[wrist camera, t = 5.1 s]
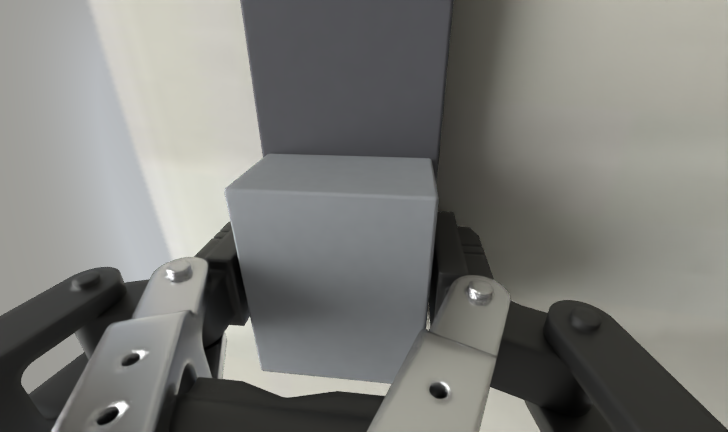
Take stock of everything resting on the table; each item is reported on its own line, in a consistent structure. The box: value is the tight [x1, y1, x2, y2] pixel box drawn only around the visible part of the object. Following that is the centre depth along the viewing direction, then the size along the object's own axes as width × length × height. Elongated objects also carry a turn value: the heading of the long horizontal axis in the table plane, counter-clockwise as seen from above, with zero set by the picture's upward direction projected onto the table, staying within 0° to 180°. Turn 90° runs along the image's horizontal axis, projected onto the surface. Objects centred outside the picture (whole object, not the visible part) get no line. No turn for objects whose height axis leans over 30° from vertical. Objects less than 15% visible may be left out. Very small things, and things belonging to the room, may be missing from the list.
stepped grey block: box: [225, 0, 454, 384], centre depth 10 cm, size 12×5×4 cm, turn 0°
